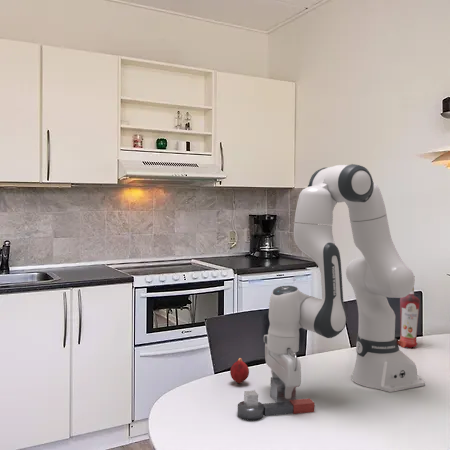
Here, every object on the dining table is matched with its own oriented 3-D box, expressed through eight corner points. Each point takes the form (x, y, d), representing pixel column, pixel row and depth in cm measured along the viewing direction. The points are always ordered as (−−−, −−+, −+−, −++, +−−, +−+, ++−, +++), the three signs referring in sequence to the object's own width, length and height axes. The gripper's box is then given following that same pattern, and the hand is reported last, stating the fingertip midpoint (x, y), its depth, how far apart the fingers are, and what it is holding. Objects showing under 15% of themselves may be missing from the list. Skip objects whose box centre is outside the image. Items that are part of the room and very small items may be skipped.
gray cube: (288, 394, 146) (288, 376, 145) (295, 402, 140) (296, 383, 140) (270, 396, 144) (270, 377, 144) (276, 404, 139) (277, 384, 139)
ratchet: (306, 404, 139) (307, 383, 139) (317, 415, 133) (317, 393, 132) (234, 410, 134) (234, 388, 134) (241, 422, 128) (241, 399, 127)
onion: (247, 388, 150) (247, 362, 150) (228, 386, 152) (228, 360, 151) (250, 381, 156) (250, 356, 156) (231, 379, 157) (232, 354, 157)
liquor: (399, 348, 193) (402, 277, 192) (396, 343, 200) (399, 274, 199) (419, 349, 192) (422, 277, 190) (415, 344, 199) (418, 275, 198)
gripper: (308, 354, 132) (306, 405, 133) (281, 333, 152) (280, 377, 153) (285, 355, 131) (283, 406, 132) (261, 334, 151) (260, 379, 151)
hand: (281, 391), depth 142 cm, fingers open, 8 cm apart
